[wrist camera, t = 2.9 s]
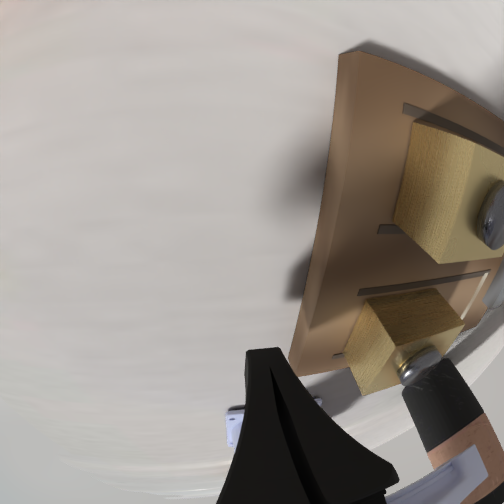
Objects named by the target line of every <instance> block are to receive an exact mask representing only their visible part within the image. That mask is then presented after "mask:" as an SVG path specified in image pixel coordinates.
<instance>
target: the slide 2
mask: <svg viewBox="0 0 504 504" xmlns="http://www.w3.org/2000/svg"><path fill="white" fill-rule="evenodd" d="M464 325H465V323H464V322H463V320H462V319H461V318H460V317H459V315H458V314H457V313H456V312H455V310H454V309H453V308H452V307H451V306H450V304H449V303H448V302H447V301H446V300H445V299H444V297H443V296H442V295H441V294H440V293H439V292H438V290H437V289H436V288H433V289H427V290H422V291H416V292H410V293H404V294H397V295H391V296H384V297H377V298H370V299H366V300H365V302H364V305H363V307H362V310H361V312H360V315H359V317H358V319H357V322H356V324H355V326H354V329H353V331H352V333H351V336H350V338H349V340H348V342H347V344H346V347H345V349H344V351H343V354H344V356H345V358H346V360H347V363H348V365H349V367H350V369H351V371H352V373H353V376H354V378H355V380H356V382H357V385H358V387H359V389H360V391H361V394H362V396H364V395H367V394H371V393H374V392H377V391H380V390H383V389H386V388H389V387H392V386H395V385H398V384H402V385H403V386H407V385H411V384H413V383H415V382H417V381H419V380H421V379H422V378H424V377H425V376H426V375H428V374H429V373H430V372H431V371H432V370H433V369H434V368H435V367H436V366H437V365H438V364H439V362H440V361H441V358H442V357H443V356H444V354H445V353H446V351H447V350H448V349H449V347H450V346H451V345H452V343H453V342H454V340H455V339H456V337H457V336H458V334H459V333H460V332H461V330H462V328H463V327H464Z"/></svg>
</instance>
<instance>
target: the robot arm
mask: <svg viewBox="0 0 504 504" xmlns="http://www.w3.org/2000/svg"><path fill="white" fill-rule="evenodd" d="M244 375H245V387H246V404H245V409H244V410H232V411H228V412H226V430H227V444H228V447H234V453H235V454H234V457H233V460H232V463H231V466H230V469H229V472H228V475H227V478H226V481H225V483H224V486H223V488H222V491H221V493H220V495H219V498H218V500H217V503H216V504H460V503H461V502H462V501H463V500H464V499H465V498H466V497H467V496H468V495H469V494H470V493H471V492H472V491H473V490H474V489H475V488H476V487H477V486H478V485H479V484H481V483H482V482H483V481H484V480H485V479H486V478H487V477H488V473H487V470H486V468H485V466H484V463H483V461H482V459H481V456H480V454H479V452H478V450H477V448H476V445H475V444H473V445H472V446H470V447H469V448H467V449H466V450H465V451H463V452H462V453H460V454H458V455H457V456H454V457H453V458H451V459H449V460H448V461H446V462H445V463H443V464H442V465H440V466H439V467H437V468H436V469H435V470H434V471H433V472H431V473H429V474H428V475H426V476H424V477H423V478H421V479H419V480H418V481H416V482H414V483H412V484H410V485H408V486H407V487H405V488H403V489H401V490H399V491H397V492H395V493H393V494H391V495H388V496H386V497H384V494H386V490H385V489H386V488H388V487H390V486H392V485H394V484H396V483H398V482H399V477H398V474H397V472H396V470H395V469H394V467H393V465H392V464H391V463H389V462H387V461H386V460H384V459H382V458H381V457H379V456H377V455H376V454H374V453H373V452H371V451H370V450H368V449H367V448H365V447H364V446H363V445H361V444H360V443H359V442H357V441H356V440H355V439H354V438H352V437H351V436H350V435H349V434H347V433H346V432H345V431H344V430H343V429H342V428H341V427H340V426H338V425H337V424H336V423H335V422H334V421H333V420H332V419H331V418H330V417H329V416H328V415H327V414H326V412H325V411H324V410H323V409H322V408H321V407H320V406H321V404H322V399H320V398H317V399H313V397H312V396H311V395H310V394H309V392H308V391H307V390H306V388H305V387H304V386H303V384H302V383H301V381H300V380H299V379H298V377H297V376H296V374H295V373H294V371H293V370H292V368H291V366H290V365H289V363H288V362H287V360H286V358H285V356H284V355H283V353H282V351H281V349H280V348H279V347H274V348H264V349H254V350H248V351H247V352H246V360H245V374H244Z"/></svg>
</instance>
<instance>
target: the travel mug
mask: <svg viewBox="0 0 504 504" xmlns="http://www.w3.org/2000/svg"><path fill="white" fill-rule="evenodd" d="M402 396H403V399H404V401H405V403H406V405H407V408H408V410H409V412H410V414H411V417H412V419H413V421H414V423H415V426H416V428H417V430H418V433H419V435H420V438H421V440H422V442H423V445H424V447H425V450H426V452H427V455H428V457H429V459H430V461H431V463H432V466H433V468H434V470H435V469H436V468H437V467H439V466H440V465H442V464H443V463H445V462H446V461H448V460H449V459H451V458H453V457H454V456H457V455H458V454H460V453H462V452H463V451H465V450H466V449H467V448H469V447H470V446H472V445H473V444H475V445H476V448H477V450H478V452H479V454H480V456H481V459H482V461H483V463H484V466H485V468H486V470H487V473H488V477H487V478H486V479H485V480H484V481H483V482H482V483H481V484H479V485H478V486H477V487H476V488H475V489H474V490H473V491H472V492H471V493H470V494H469V495H468V496H467V497H466V498H465V499H464V500H463V501H462V502H461V503H460V504H502V503H503V502H504V451H503V449H502V447H501V445H500V442H499V440H498V438H497V436H496V434H495V432H494V430H493V428H492V426H491V424H490V422H489V420H488V418H487V416H486V414H485V413H484V411H483V409H482V407H481V406H480V404H479V402H478V401H477V399H476V397H475V396H474V394H473V393H472V391H471V390H470V388H469V386H468V385H467V383H466V382H465V380H464V379H463V377H462V376H461V374H460V373H459V372H458V370H457V369H456V367H455V366H454V365H453V363H452V362H451V361H450V360H449V359H443V360H441V361H440V362H439V364H438V365H437V366H436V367H435V368H434V369H433V370H432V371H431V372H430V373H429V374H428V375H426V376H425V377H424V378H422V379H421V380H419V381H417V382H415V383H413V384H411V385H407V386H406V387H405V388H404V390H403V391H402Z"/></svg>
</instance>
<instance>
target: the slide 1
mask: <svg viewBox="0 0 504 504" xmlns="http://www.w3.org/2000/svg"><path fill="white" fill-rule="evenodd" d="M392 222H393V223H395V224H396V225H397V226H398V227H399V228H400V229H402V230H403V231H404V232H405V233H406V234H407V235H408V236H409V237H411V238H412V239H413V240H414V241H415V242H416V243H417V244H418V245H419V246H420V247H421V248H423V249H424V250H425V251H426V252H427V253H428V254H429V255H430V256H431V257H432V258H433V259H434V260H435V261H436V262H437V263H438V264H444V263H453V262H462V261H471V260H479V259H488V258H496V257H502V255H503V253H504V157H502V156H500V155H499V154H497V153H495V152H493V151H491V150H489V149H487V148H485V147H482V146H480V145H478V144H476V143H474V142H471V141H469V140H466V139H463V138H461V137H458V136H455V135H452V134H450V133H447V132H444V131H441V130H438V129H435V128H432V127H428V126H425V125H422V124H418V123H415V122H413V127H412V133H411V139H410V145H409V150H408V156H407V161H406V166H405V170H404V175H403V179H402V184H401V188H400V192H399V196H398V200H397V204H396V208H395V212H394V215H393V219H392Z"/></svg>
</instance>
